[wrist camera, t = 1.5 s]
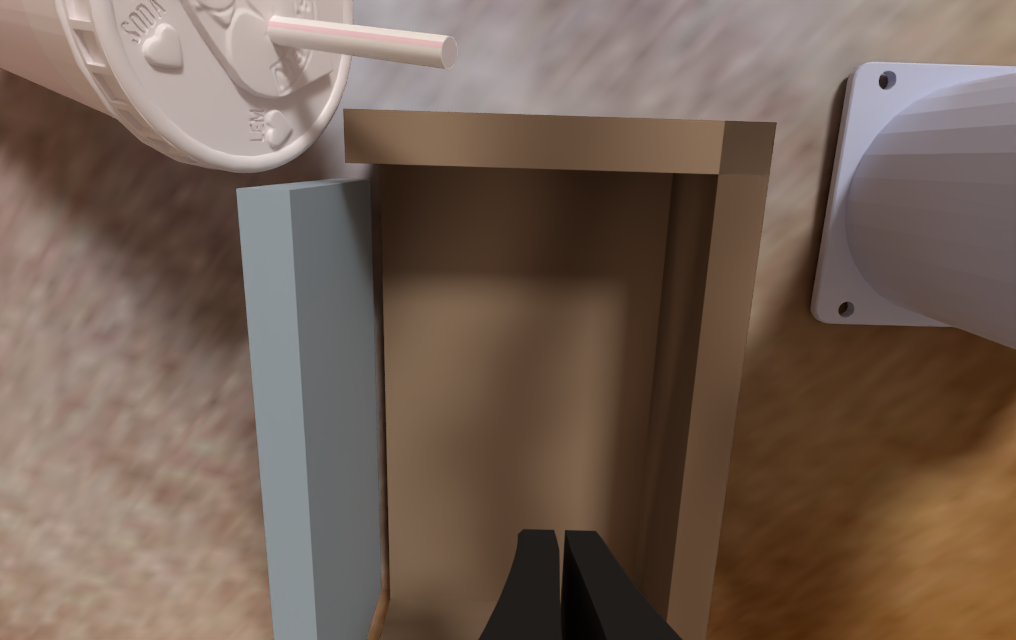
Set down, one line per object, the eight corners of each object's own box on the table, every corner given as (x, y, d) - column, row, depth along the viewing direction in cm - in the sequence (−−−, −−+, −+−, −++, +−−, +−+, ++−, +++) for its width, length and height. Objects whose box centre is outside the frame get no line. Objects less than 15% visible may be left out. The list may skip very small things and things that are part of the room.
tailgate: (370, 179, 18) (289, 190, 11) (381, 587, 22) (325, 779, 15) (337, 178, 18) (236, 188, 11) (353, 586, 22) (285, 778, 15)
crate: (706, 132, 19) (776, 122, 14) (654, 612, 23) (693, 731, 18) (385, 122, 19) (343, 108, 14) (395, 607, 23) (366, 724, 18)
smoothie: (75, 145, 19) (461, 251, 13) (-237, 37, 13) (238, 150, 7) (132, -55, 19) (545, -29, 13) (-157, -260, 13) (384, -356, 7)
